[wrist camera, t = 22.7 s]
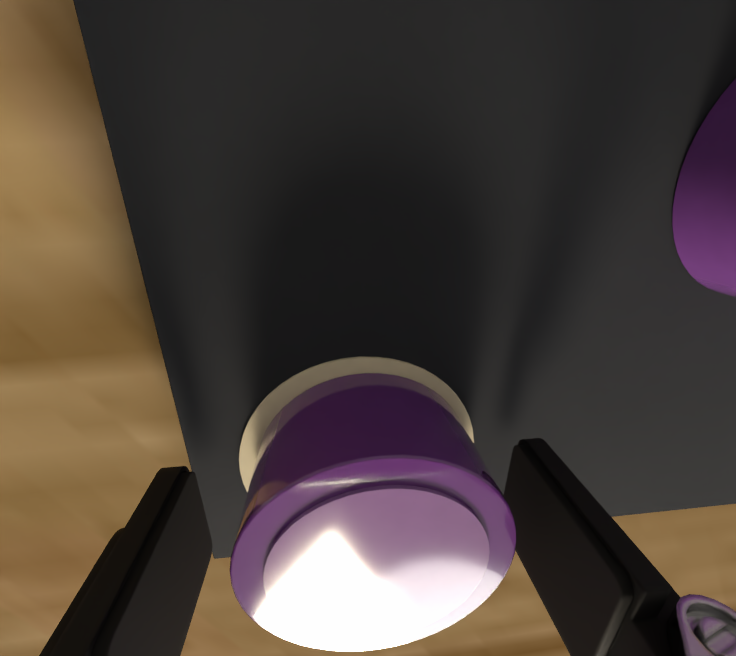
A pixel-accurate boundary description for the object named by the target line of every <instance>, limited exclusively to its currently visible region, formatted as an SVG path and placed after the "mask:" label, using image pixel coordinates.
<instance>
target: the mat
mask: <svg viewBox="0 0 736 656" xmlns="http://www.w3.org/2000/svg"><path fill="white" fill-rule="evenodd" d="M73 1H74V5H75V9H76V13H77V17H78V21H79V25H80V29H81V33H82V37H83V41H84V45H85V49H86V53H87V57H88V61H89V64H90V68H91V72H92V76H93V80H94V84H95V88H96V92H97V96H98V100H99V104H100V108H101V112H102V116H103V120H104V124H105V128H106V132H107V136H108V140H109V144H110V148H111V152H112V156H113V160H114V164H115V168H116V172H117V176H118V180H119V183H120V187H121V191H122V195H123V199H124V203H125V207H126V211H127V215H128V219H129V223H130V227H131V231H132V235H133V239H134V243H135V247H136V251H137V255H138V259H139V263H140V267H141V271H142V275H143V279H144V283H145V287H146V291H147V295H148V299H149V302H150V306H151V310H152V314H153V318H154V322H155V326H156V330H157V334H158V338H159V342H160V346H161V350H162V354H163V358H164V362H165V366H166V370H167V374H168V378H169V382H170V386H171V390H172V394H173V398H174V402H175V406H176V410H177V414H178V418H179V421H180V425H181V429H182V433H183V437H184V441H185V445H186V449H187V453H188V457H189V461H190V465H191V469H192V472H195V475H196V478H197V482H198V486H199V490H200V494H201V498H202V502H203V506H204V510H205V514H206V518H207V522H208V526H209V530H210V534H211V539H212V552H213V556H214V558H215V559H216V558H225V557H231V554H232V550H233V546H234V542H235V539H236V535H237V531H238V527H239V523H240V519H241V516H242V512H243V508H244V504H245V500H246V496H247V493H248V489H249V485H250V481H251V477H252V473H253V469H254V466H255V462H256V458H257V454H258V450H259V447H260V443H261V440H262V438H263V435H264V433H265V431H266V429H267V427H268V426H269V424H270V423H271V421H272V420H273V418H274V417H275V416H276V415H277V414H278V413H279V411H280V410H281V409H282V408H283V407H284V406H285V405H287V404H288V403H289V402H290V401H291V400H292V399H294V398H295V397H297V396H298V395H300V394H301V393H303V392H304V391H306V390H307V389H309V388H312V387H314V386H316V385H318V384H320V383H322V382H325V381H328V380H331V379H334V378H338V377H342V376H346V375H352V374H361V373H383V374H391V375H397V376H401V377H405V378H408V379H411V380H414V381H416V382H419V383H421V384H423V385H425V386H427V387H429V388H430V389H432V390H434V391H435V392H436V393H438V394H439V395H440V396H442V397H443V398H444V399H445V400H446V401H447V402H448V403H449V404H450V405H451V407H452V408H453V409H454V411H455V412H456V414H457V415H458V417H459V419H460V420H461V422H462V424H463V426H464V427H465V429H466V431H467V433H468V434H469V436H470V438H471V440H472V441H473V443H474V445H475V447H476V448H477V450H478V452H479V454H480V455H481V457H482V459H483V461H484V462H485V464H486V466H487V467H488V469H489V471H490V473H491V474H492V476H493V478H494V480H495V481H496V483H497V485H498V487H499V488H500V490H501V492H502V494H503V495H504V490H505V485H506V480H507V475H508V471H509V466H510V461H511V456H512V451H513V448H514V446H515V445H518V442H519V441H520V440H522V439H533V438H542V439H544V440H545V441H546V442H547V443H548V445H549V446H550V447H551V448H552V449H553V450H554V452H555V453H556V454H557V455H558V456H559V457H560V458H561V460H562V461H563V462H564V463H565V464H566V465H567V467H568V468H569V469H570V470H571V471H572V472H573V473H574V475H575V476H576V477H577V478H578V479H579V480H580V482H581V483H582V484H583V485H584V486H585V487H586V488H587V490H588V491H589V492H590V493H591V494H592V495H593V497H594V498H595V499H596V500H597V501H598V502H599V504H600V505H601V506H602V507H603V508H604V509H605V510H606V512H607V513H608V514H609V515H610V516H611V517H613V516H622V515H632V514H641V513H651V512H660V511H670V510H679V509H688V508H698V507H707V506H717V505H726V504H736V297H734V296H730V295H726V294H722V293H719V292H716V291H713V290H711V289H708V288H707V287H705V286H703V285H702V284H700V283H699V282H697V281H696V280H695V279H694V278H693V277H692V276H691V275H690V274H689V273H688V271H687V270H686V269H685V267H684V266H683V264H682V263H681V260H680V258H679V256H678V254H677V251H676V247H675V244H674V240H673V232H672V205H673V199H674V192H675V188H676V184H677V180H678V176H679V172H680V169H681V167H682V164H683V161H684V159H685V156H686V153H687V151H688V149H689V147H690V145H691V143H692V141H693V138H694V136H695V134H696V132H697V131H698V129H699V127H700V126H701V124H702V122H703V120H704V119H705V117H706V115H707V114H708V112H709V111H710V109H711V108H712V107H713V105H714V104H715V102H716V101H717V100H718V98H719V97H720V95H721V94H722V93H723V92H724V91H725V89H726V88H727V87H728V86H729V85H730V84H731V82H732V81H733V80H734V79H735V78H736V0H73Z"/></svg>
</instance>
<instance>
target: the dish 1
mask: <svg viewBox="0 0 736 656" xmlns="http://www.w3.org/2000/svg"><path fill="white" fill-rule="evenodd" d="M515 548H516V525H515V521H514V516H513V513H512V511H511V509H510V507H509V504H508V502H507V501H506V499H505V497H504V495H503V494H502V492H501V490H500V488H499V487H498V485H497V483H496V481H495V480H494V478H493V476H492V474H491V473H490V471H489V469H488V467H487V466H486V464H485V462H484V461H483V459H482V457H481V455H480V454H479V452H478V450H477V448H476V447H475V445H474V443H473V441H472V440H471V438H470V436H469V434H468V433H467V431H466V429H465V427H464V426H463V424H462V422H461V420H460V419H459V417H458V415H457V414H456V412H455V411H454V409H453V408H452V407H451V405H450V404H449V403H448V402H447V401H446V400H445V399H444V398H443V397H442V396H440V395H439V394H438V393H436V392H435V391H434V390H432V389H430V388H429V387H427V386H425V385H423V384H421V383H419V382H416V381H414V380H411V379H408V378H405V377H401V376H397V375H391V374H383V373H361V374H352V375H346V376H342V377H338V378H334V379H331V380H328V381H325V382H322V383H320V384H318V385H316V386H314V387H312V388H309V389H307V390H306V391H304V392H303V393H301V394H300V395H298V396H297V397H295V398H294V399H292V400H291V401H290V402H289V403H288V404H287V405H285V406H284V407H283V408H282V409H281V410H280V411H279V413H278V414H277V415H276V416H275V417H274V418H273V420H272V421H271V423H270V424H269V426H268V427H267V429H266V431H265V433H264V435H263V438H262V440H261V443H260V447H259V450H258V454H257V458H256V462H255V466H254V469H253V473H252V477H251V481H250V485H249V489H248V493H247V496H246V500H245V504H244V508H243V512H242V516H241V519H240V523H239V527H238V531H237V535H236V539H235V542H234V546H233V550H232V554H231V561H230V576H231V584H232V587H233V590H234V593H235V596H236V598H237V600H238V602H239V604H240V605H241V607H242V609H243V610H244V611H245V612H246V613H247V614H248V616H249V617H250V618H251V619H252V620H253V621H255V622H256V623H257V624H258V625H259V626H261V627H262V628H264V629H265V630H267V631H268V632H270V633H271V634H273V635H275V636H277V637H280V638H282V639H284V640H286V641H289V642H292V643H295V644H298V645H301V646H306V647H310V648H314V649H322V650H329V651H367V650H377V649H383V648H389V647H394V646H398V645H402V644H406V643H410V642H413V641H416V640H419V639H422V638H425V637H427V636H430V635H432V634H434V633H437V632H439V631H441V630H443V629H445V628H447V627H449V626H451V625H453V624H454V623H456V622H458V621H459V620H461V619H462V618H464V617H466V616H467V615H468V614H470V613H471V612H472V611H474V610H475V609H476V608H478V607H479V606H480V605H481V604H482V603H483V602H484V601H485V600H486V599H487V598H488V597H489V596H490V595H491V594H492V593H493V592H494V591H495V589H496V588H497V587H498V586H499V584H500V583H501V581H502V580H503V578H504V577H505V575H506V573H507V571H508V569H509V567H510V565H511V563H512V560H513V557H514V554H515Z"/></svg>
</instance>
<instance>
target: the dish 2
mask: <svg viewBox="0 0 736 656" xmlns="http://www.w3.org/2000/svg"><path fill="white" fill-rule="evenodd" d="M672 232H673V240H674V244H675V247H676V251H677V254H678V256H679V258H680V260H681V263H682V264H683V266H684V267H685V269H686V270H687V271H688V273H689V274H690V275H691V276H692V277H693V278H694V279H695V280H696V281H697V282H699V283H700V284H702V285H703V286H705V287H707V288H708V289H711V290H713V291H716V292H719V293H722V294H726V295H730V296H734V297H736V78H735V79H734V80H733V81H732V82H731V84H730V85H729V86H728V87H727V88H726V89H725V91H724V92H723V93H722V94H721V95H720V97H719V98H718V100H717V101H716V102H715V104H714V105H713V107H712V108H711V109H710V111H709V112H708V114H707V115H706V117H705V119H704V120H703V122H702V124H701V126H700V127H699V129H698V131H697V132H696V134H695V136H694V138H693V141H692V143H691V145H690V147H689V149H688V151H687V153H686V156H685V159H684V161H683V164H682V167H681V169H680V172H679V176H678V180H677V184H676V188H675V192H674V199H673V205H672Z"/></svg>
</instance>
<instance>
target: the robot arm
mask: <svg viewBox="0 0 736 656" xmlns="http://www.w3.org/2000/svg"><path fill="white" fill-rule="evenodd" d="M504 497H505V499H506V501H507V502H508V504H509V507H510V509H511V511H512V513H513V516H514V521H515V525H516V548H515V550H516V552H517V554H518V556H519V558H520V560H521V561H522V563H523V565H524V567H525V569H526V571H527V573H528V575H529V577H530V579H531V581H532V582H533V584H534V586H535V588H536V590H537V592H538V594H539V596H540V598H541V600H542V602H543V604H544V605H545V607H546V609H547V611H548V613H549V615H550V617H551V619H552V621H553V623H554V625H555V626H556V628H557V630H558V632H559V634H560V636H561V638H562V640H563V642H564V644H565V646H566V647H567V649H568V651H569V653H570V655H571V656H736V611H734V610H733V609H731V608H730V607H728V606H726V605H724V604H722V603H720V602H718V601H716V600H714V599H711V598H708V597H705V596H702V595H691V594H689V595H686V596H683V597H681V598H680V597H679V595H678V594H677V593H676V592H675V591H674V590H673V588H672V587H671V586H670V584H669V583H668V582H667V581H666V580H665V579H664V577H663V576H662V575H661V574H660V573H659V572H658V570H657V569H656V568H655V567H654V566H653V565H652V564H651V562H650V561H649V560H648V559H647V558H646V557H645V555H644V554H643V553H642V552H641V551H640V550H639V549H638V547H637V546H636V545H635V544H634V543H633V542H632V540H631V539H630V538H629V537H628V536H627V535H626V534H625V532H624V531H623V530H622V529H621V528H620V527H619V525H618V524H617V523H616V522H615V521H614V520H613V519H612V517H611V516H610V515H609V514H608V513H607V512H606V510H605V509H604V508H603V507H602V506H601V505H600V504H599V502H598V501H597V500H596V499H595V498H594V497H593V495H592V494H591V493H590V492H589V491H588V490H587V488H586V487H585V486H584V485H583V484H582V483H581V482H580V480H579V479H578V478H577V477H576V476H575V475H574V473H573V472H572V471H571V470H570V469H569V468H568V467H567V465H566V464H565V463H564V462H563V461H562V460H561V458H560V457H559V456H558V455H557V454H556V453H555V452H554V450H553V449H552V448H551V447H550V446H549V445H548V443H547V442H546V441H545V440H544V439H542V438H533V439H522V440H520V441H519V442H518V445H515V446H514V448H513V451H512V456H511V461H510V466H509V471H508V475H507V480H506V485H505V490H504ZM211 554H212V539H211V534H210V530H209V526H208V522H207V518H206V514H205V510H204V506H203V502H202V498H201V494H200V490H199V486H198V482H197V478H196V475H195V472H189V470H188V468H187V467H186V466H181V467H169V468H161V469H160V470H159V471H158V472H157V474H156V476H155V477H154V479H153V481H152V482H151V484H150V486H149V488H148V489H147V491H146V493H145V494H144V496H143V498H142V499H141V501H140V503H139V504H138V506H137V508H136V510H135V511H134V513H133V515H132V516H131V518H130V520H129V521H128V523H127V525H126V526H125V528H122V529H120V530H118V531H117V532H116V533H115V534H114V535H113V537H112V538H111V539H110V541H109V543H108V544H107V546H106V547H105V549H104V551H103V552H102V554H101V556H100V557H99V559H98V561H97V562H96V564H95V565H94V567H93V569H92V570H91V572H90V574H89V575H88V577H87V579H86V580H85V582H84V583H83V585H82V587H81V588H80V590H79V592H78V593H77V595H76V596H75V598H74V600H73V601H72V603H71V605H70V606H69V608H68V610H67V611H66V613H65V614H64V616H63V618H62V619H61V621H60V623H59V624H58V626H57V628H56V629H55V631H54V632H53V634H52V636H51V637H50V639H49V641H48V642H47V644H46V646H45V647H44V649H43V650H42V652H41V654H40V655H39V656H180V655H181V651H182V648H183V645H184V642H185V639H186V635H187V632H188V629H189V626H190V622H191V619H192V616H193V613H194V610H195V606H196V603H197V600H198V597H199V594H200V590H201V587H202V584H203V581H204V577H205V574H206V571H207V568H208V565H209V561H210V558H211Z"/></svg>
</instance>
